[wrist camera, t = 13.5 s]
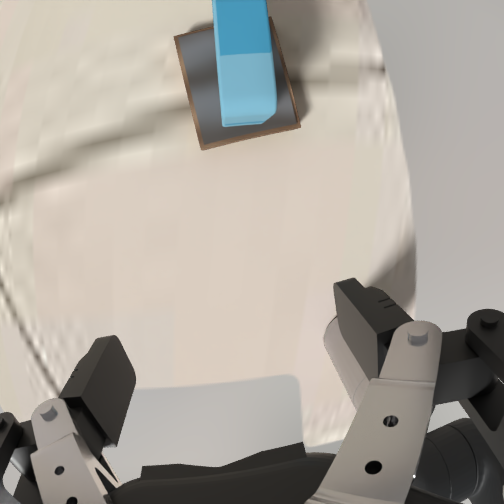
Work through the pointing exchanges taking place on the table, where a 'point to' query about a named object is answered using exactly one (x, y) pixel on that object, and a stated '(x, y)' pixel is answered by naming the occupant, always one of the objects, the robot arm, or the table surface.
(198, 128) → the stand
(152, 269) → the table surface
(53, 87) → the table surface
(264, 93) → the blue rectangular block
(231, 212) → the table surface
